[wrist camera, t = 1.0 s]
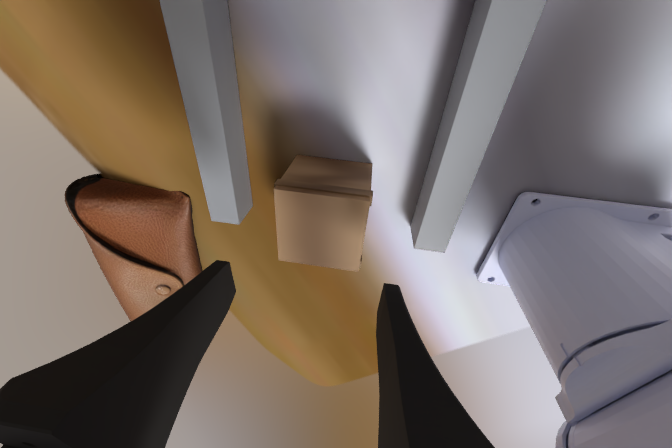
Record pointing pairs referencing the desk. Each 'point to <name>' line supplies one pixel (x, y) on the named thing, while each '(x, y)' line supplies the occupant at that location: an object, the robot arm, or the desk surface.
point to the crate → (323, 211)
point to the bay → (453, 134)
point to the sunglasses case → (136, 238)
